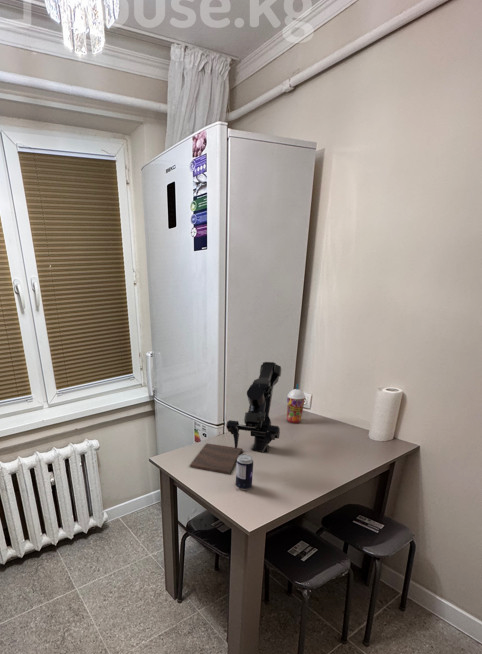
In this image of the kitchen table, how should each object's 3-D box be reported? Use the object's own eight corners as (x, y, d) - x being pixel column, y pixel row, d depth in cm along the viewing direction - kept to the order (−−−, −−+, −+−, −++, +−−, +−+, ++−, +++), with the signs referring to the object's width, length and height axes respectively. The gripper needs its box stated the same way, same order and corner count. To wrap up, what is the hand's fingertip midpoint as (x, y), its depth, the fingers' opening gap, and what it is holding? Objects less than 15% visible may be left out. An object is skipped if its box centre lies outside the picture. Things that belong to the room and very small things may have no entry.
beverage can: (252, 491, 126) (254, 461, 122) (235, 490, 127) (237, 460, 123) (251, 483, 131) (253, 454, 127) (235, 482, 132) (236, 453, 128)
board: (206, 445, 163) (206, 443, 163) (241, 450, 156) (242, 448, 156) (190, 466, 145) (190, 464, 145) (229, 474, 138) (229, 472, 138)
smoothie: (286, 424, 181) (290, 386, 174) (283, 418, 189) (287, 381, 182) (304, 424, 180) (308, 386, 173) (300, 418, 188) (304, 381, 180)
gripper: (228, 399, 132) (219, 438, 127) (281, 405, 124) (274, 446, 119) (232, 413, 141) (224, 449, 136) (282, 418, 133) (275, 457, 128)
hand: (248, 450), depth 130 cm, fingers open, 9 cm apart
